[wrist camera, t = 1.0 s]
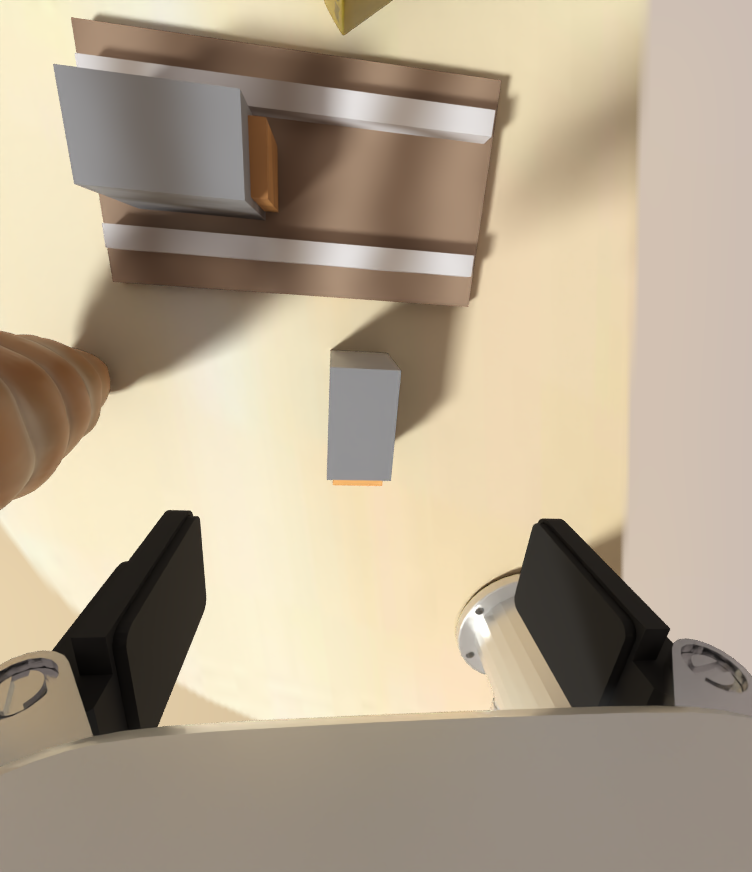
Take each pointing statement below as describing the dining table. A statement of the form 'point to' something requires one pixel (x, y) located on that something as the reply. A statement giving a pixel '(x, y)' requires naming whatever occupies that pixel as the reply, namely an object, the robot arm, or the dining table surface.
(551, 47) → the dining table surface
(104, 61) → the rail mount
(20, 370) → the cat ice cream
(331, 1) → the medication box
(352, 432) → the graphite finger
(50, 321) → the dining table surface
